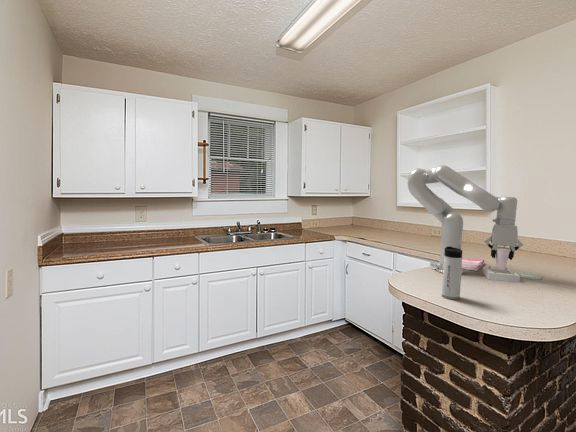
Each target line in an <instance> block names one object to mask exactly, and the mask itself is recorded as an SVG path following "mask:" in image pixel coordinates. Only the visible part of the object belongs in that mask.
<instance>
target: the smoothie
mask: <svg viewBox="0 0 576 432" xmlns="http://www.w3.org/2000/svg"><path fill="white" fill-rule="evenodd" d="M495 250H496V255H495V263H496V264H495V265H496V268H499V269H505V268H507V264H508V259H509V258H508V257H509V253H510V251H511V249H510V247H506V246H503V247H502V246H497V247H496V248H495Z"/></svg>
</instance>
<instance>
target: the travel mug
mask: <svg viewBox="0 0 576 432" xmlns="http://www.w3.org/2000/svg"><path fill="white" fill-rule="evenodd" d="M444 253H445V254H444V268H443V273H442V288H441V289H442V291H441V292H442V293H441V295H442V298H444V299H447V300H451V299H452V301H457V300H460V298H461V283H462V274H461V270H463V269H462V258H463V250H462V248H461V249H458V248H454V247H451V246H447V247H446V248H445V252H444Z"/></svg>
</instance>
